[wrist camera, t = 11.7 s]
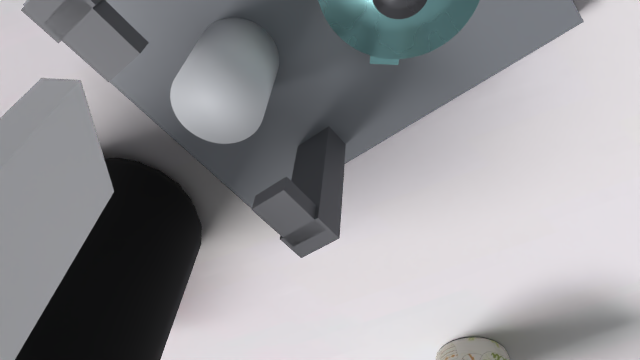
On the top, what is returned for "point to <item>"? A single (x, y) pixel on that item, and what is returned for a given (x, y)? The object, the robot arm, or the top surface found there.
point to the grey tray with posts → (284, 87)
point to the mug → (472, 350)
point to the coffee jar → (123, 274)
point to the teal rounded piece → (396, 25)
